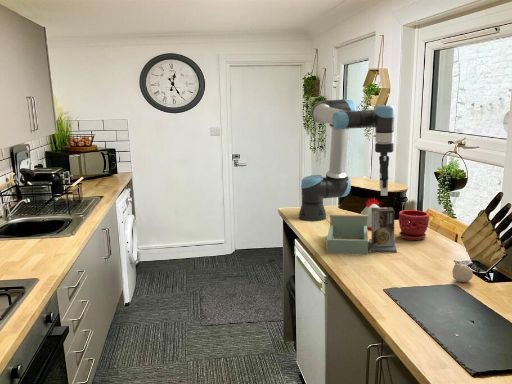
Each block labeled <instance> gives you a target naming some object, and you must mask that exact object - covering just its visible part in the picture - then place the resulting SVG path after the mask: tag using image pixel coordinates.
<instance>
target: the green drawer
mask: <svg viewBox="0 0 512 384" xmlns="http://www.w3.org/2000/svg"><path fill="white" fill-rule="evenodd" d="M329 217H330V218H329V227H328V234H327V238H326V254H341V255H363V256H364V255H365V256H367V255H368V254H369V249H368V248H369V240H368V239H369V238H368V237H369V234H368V230H367V218H368V215H361V214H347V213H346V214H345V213H344V214H341V213H340V214H338V213H335V214H334V213H330V214H329ZM341 238H342V239H341ZM344 238H345V239H344ZM347 238H352V239H347ZM353 238H354V239H353ZM356 238H357V239H356Z"/></svg>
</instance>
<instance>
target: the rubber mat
mask: <svg viewBox="0 0 512 384" xmlns="http://www.w3.org/2000/svg"><path fill="white" fill-rule="evenodd" d="M368 239H369V240H368V245H369V252H370V253H393V254H394V253H397V252H398V250H397V246H396V242H395V240H394V246H373V245H372V242H371V238H368Z"/></svg>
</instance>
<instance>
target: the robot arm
mask: <svg viewBox="0 0 512 384" xmlns="http://www.w3.org/2000/svg"><path fill="white" fill-rule="evenodd" d="M310 115H311V119H313V121H314V122H316V123H320V124H328V125H329V127H330V128H331V136H330V137H331V139H330V154H329V166H328V167H329V168H328V171H327V172H326V174H325V176H323V175H322V174H311V175H307V176H305V177H303V178H302V179H301V186H300V187H301V206H300V208H299V213H298V218H299V220H302V221H309V222H316V221H317V222H319V221H323V220H326V219H327V212H326V209H325V205H324V199H333V198H334V199H335V198H343V197H347V196H348V195H349V194H350V192H351V186H352V183H351V178H350V177H349V176H348V173H347V172H346V164H347V151H348V149H347V148H348V140H349V139H348V138H349V137H348V136H349V129H350V130H351V129H364V128H365V129H367V128H375V131H374V133H375V134H374V135H373V137H374V138H375V139H374V140H375V141H374V142H375V144H374V152H375V153H378V154H379V156H378V160H379V161H378V162H379V190H380V196H383V197H384V196H385V197H386V196H388V195H389V194H388V193H389V191H388V190H389V165H390V163H389V161H390V156H389V155H388V153H389V154H390V153H393V152H394V148H395V147H394V145H395V144H394V141H395V117H396V114H395V107H394V105H387V104H386V105H376V107H375V109H368V110H367V109H365V110H364V109H363V110H357V106H356V105H355V102H354V101H353V100H351V99H328V100H327V99H326V100H321V101H318V102H316V103H315V104H314V105H313V106H312V108H311V109H310Z"/></svg>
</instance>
